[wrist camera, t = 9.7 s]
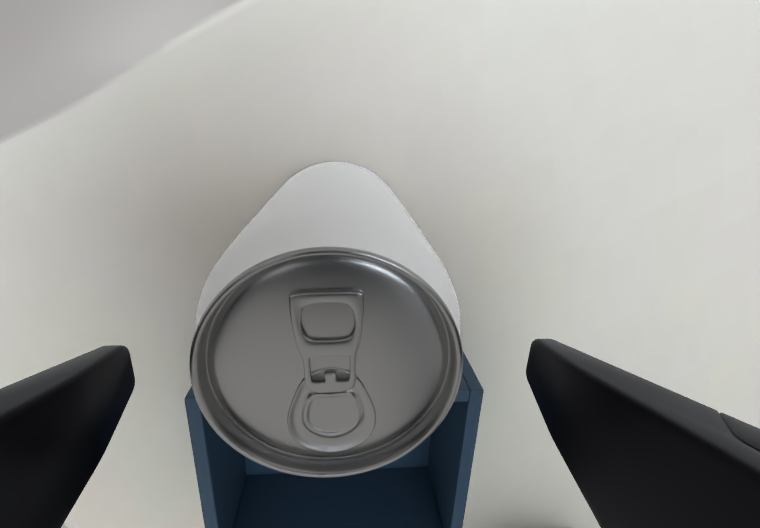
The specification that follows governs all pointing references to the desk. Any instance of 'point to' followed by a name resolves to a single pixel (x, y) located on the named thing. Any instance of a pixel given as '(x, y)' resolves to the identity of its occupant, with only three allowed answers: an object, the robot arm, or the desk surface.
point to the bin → (343, 480)
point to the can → (327, 330)
